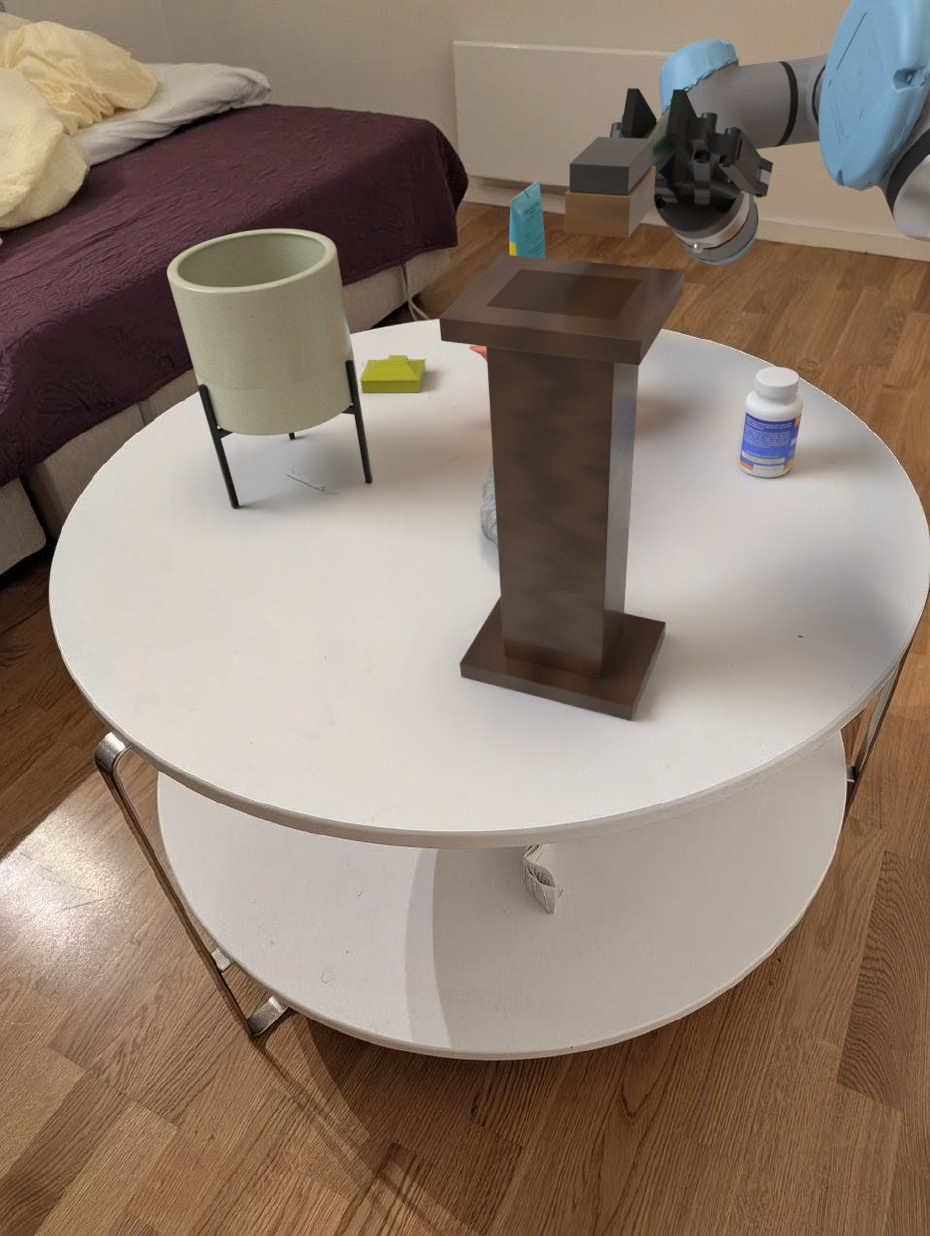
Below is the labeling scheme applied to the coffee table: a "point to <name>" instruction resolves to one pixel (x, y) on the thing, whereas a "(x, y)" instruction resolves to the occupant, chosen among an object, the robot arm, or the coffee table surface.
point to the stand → (564, 472)
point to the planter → (267, 335)
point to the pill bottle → (770, 423)
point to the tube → (527, 224)
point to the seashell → (489, 508)
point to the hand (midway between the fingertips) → (652, 111)
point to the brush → (615, 182)
